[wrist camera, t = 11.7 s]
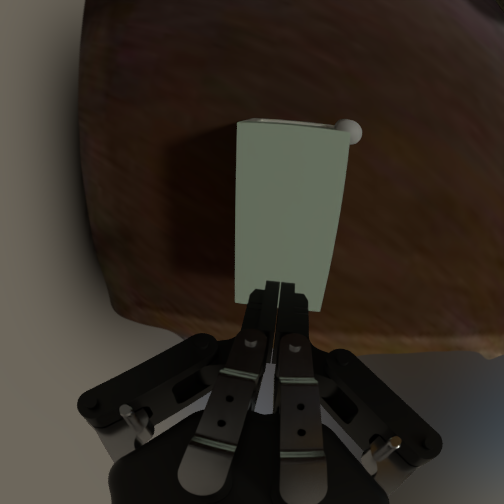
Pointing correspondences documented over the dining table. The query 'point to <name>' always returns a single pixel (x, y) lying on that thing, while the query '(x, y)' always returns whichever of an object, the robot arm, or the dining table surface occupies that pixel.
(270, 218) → the cover
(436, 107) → the dining table surface
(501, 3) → the can
